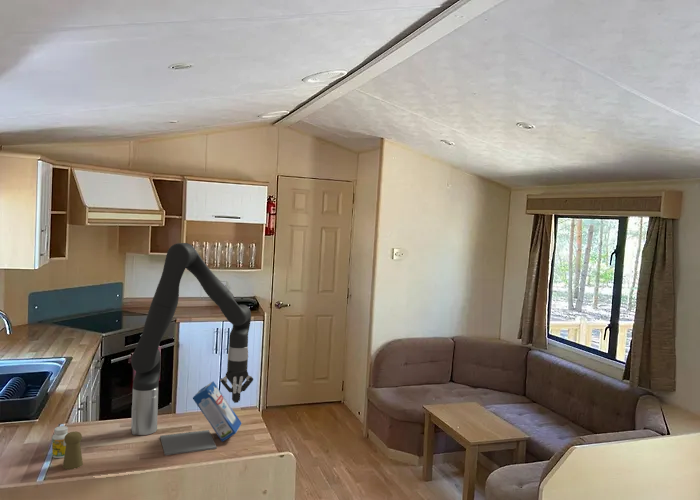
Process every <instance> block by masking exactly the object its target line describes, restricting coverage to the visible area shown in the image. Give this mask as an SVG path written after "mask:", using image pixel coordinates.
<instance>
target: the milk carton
mask: <svg viewBox="0 0 700 500" xmlns="http://www.w3.org/2000/svg"><path fill="white" fill-rule="evenodd" d="M192 400H193V401H194V402H195V404H196V406H197V407H198V409H199V410H200V411H201V413H202V414H203V416H204V418H206V421H207V422H208V424H209V425H210V426H211V428H212V429H213V430H214V432H215V434H216V435H217V437H218V438H219V440H220V442H224V441H227V439H230V438H231V437H232V436H234V435H235V434H237V432H238V431H239V428H240V427H241V426H242V424H243V423H242V421H241V420H240V419H239V417H238V415H237V414H236V413H235V411H234V410H233V408H232V407H231V405H230V404H229V402H228V401H227V399H226V398H225V396H224V395H223V393H222V392H221V390H220V388H219V387H218V386H217V384H216V383H215V381H211V382H210V383H209V384H207V385H205V386H203V387H202V388H201V389H199V390H198V392H197V393H195V394H194V396H193V397H192Z"/></svg>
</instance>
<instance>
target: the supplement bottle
mask: <svg viewBox="0 0 700 500" xmlns="http://www.w3.org/2000/svg"><path fill="white" fill-rule="evenodd" d="M68 431H69V428H68V426H67V425H60V426H57V427H55V428H54V431H53V432H54V434H53V435H52V437H51V440H52V441H51V445H52V446H51V456H52V457H53V458H55V459H64V455H65V449H66V443H65V436H66V434H68V433H69V432H68Z"/></svg>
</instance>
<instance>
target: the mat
mask: <svg viewBox="0 0 700 500" xmlns="http://www.w3.org/2000/svg"><path fill="white" fill-rule="evenodd" d="M159 439H160V441H161V445H162V449H163V450H162V451H163V453H164V456H171V455H178V454H188V453H193V452H200V451H208V450H216V449H218V447H217V445H216V443H215V440H214V439H213V436H212V434H211V432H210V429H206V430H197V431H190V432H181V433H172V434H164V435H160V436H159Z"/></svg>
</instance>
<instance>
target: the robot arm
mask: <svg viewBox="0 0 700 500" xmlns="http://www.w3.org/2000/svg"><path fill="white" fill-rule="evenodd" d="M162 269H163V270H162V272H161V273H162V274H161V276H160V279H159V281H158V284H157V287H156V289H155V291H154V296H153V298H152V300H151V303H150V306H149V309H148V313H147V316H146V319H145V322H144V326H143V330H142V332H141V336H140V339H139V340H138V343H137V345H136V347H135V349H134V351H133V353H132V355H131V358H130V359H131V360H130V362H131V368H132V369H133V370H134V371H135V375H134V377H133V381H132V401H131V403H132V405H131V422H130V423H131V424H130V425H131V435H137V436H146V435H147V436H148V435H151V434H154V433H156V431H158V415H159V413H158V410H159V407H158V406H159V405H158V404H159V381H160V378H161V367H162V366H161V365H162V364H161V363H162V354H161V350H160V349H159V347H160V343H161V341H162V339H163V337H164V335H165V333H166V332H167V330H168V329H169V326H170V324H171V323H172V320H173V318H174V316H175V313H176V310H177V307H178V304H179V298H180V283H181V280H182V277H183V275H184V273H185V270H188V272H190V273H191V274H192V275H193V277H195V278H196V279H197V281H198V283H199V284H200V286H201V288H202V290H204V292H205V294H206V295H207V296H208V297H209V298H210V299H211V300H212V301H213V303H214V304H216V305H217V307H218V308H219V309H220V312H222V314H223V315H224V317H225V318H226V320H227V321H228V322H229V323H230V324H232V329H231V330H230V332H229V337H228V339H229V340H228V349H227V368H226V373H225V375H224V377H223V378H220V379H219V381H220V382H221V385H222V386H223V387H224V388H225V389H226V390H227V392H229V393H231V400H232V402H233V403H234V404H236V403H239V402H240V400H241V393H243V392H245V391H246V390H247V389H248V388H249V387H250V385H251V384H252V383H253V381H254V378H253V377H252V375H249V372H248V362H249V361H248V360H249V359H248V358H249V347H248V346H249V331H250V326H251V321H252V313H251V309H250V307H249V306H248V305H246V304H238V303H237V302H236V300H235V297H234V294H233V293H232V292H231V290H230V289H229V288H228V287H227V286H226V285H225V284H224V283H223V282H222V281H221V280H220V279H219V278H218V277H217V276H216V275H215V274H214V272H213V271H212V270H211V269H210V267H209V266H208V265H207V264H206V262H205V261H204V260H203V257H201V256H200V254H199V252H198V251H197V250H196V248H195V247H194V246H193V245H192V244H190V243H187V242H177V243H174V244H172V245H171V246H170V247H169V248H168V250H167V252H166V257H165V260H164V264H163V268H162ZM228 382H229V383H230V385H231V387H230V386H229V385H228Z"/></svg>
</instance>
